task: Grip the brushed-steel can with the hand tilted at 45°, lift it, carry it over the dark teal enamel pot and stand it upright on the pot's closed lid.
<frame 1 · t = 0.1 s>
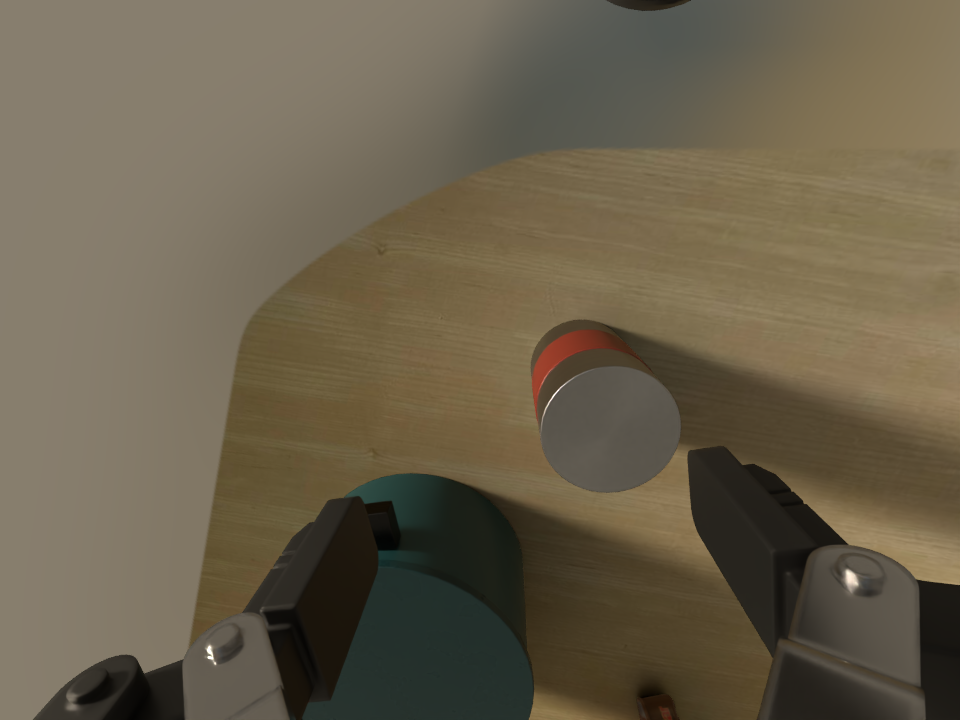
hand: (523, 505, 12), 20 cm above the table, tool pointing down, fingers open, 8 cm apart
can: (579, 366, 31), on the table
pot: (419, 564, 37), on the table
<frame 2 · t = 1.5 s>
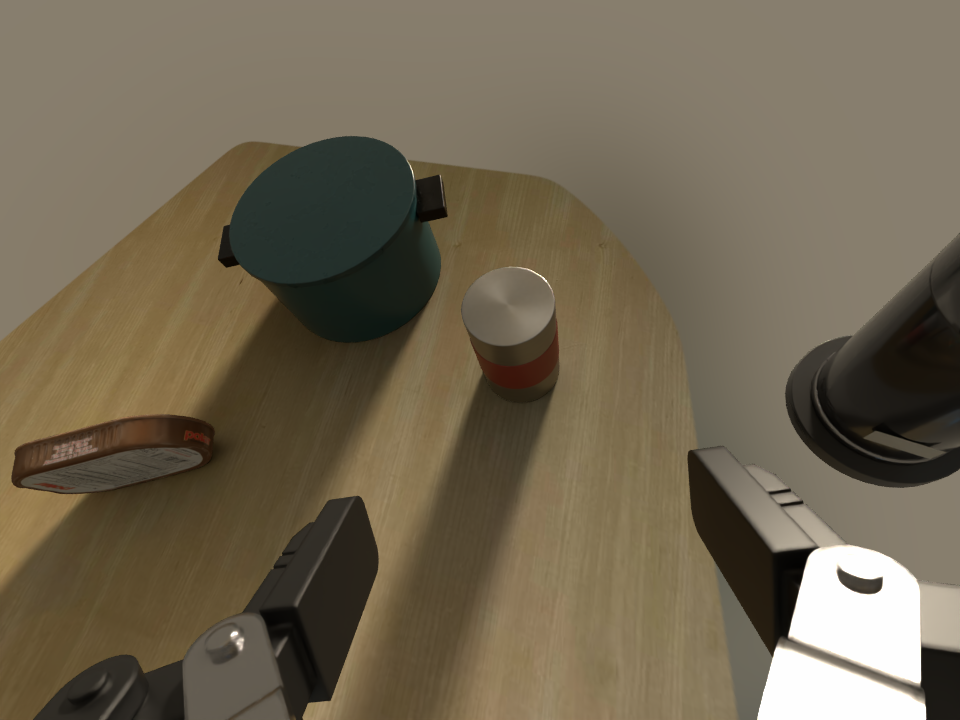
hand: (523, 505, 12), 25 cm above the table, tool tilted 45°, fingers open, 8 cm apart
can: (521, 368, 41), on the table
pot: (365, 274, 49), on the table
tin: (158, 469, 43), on the table
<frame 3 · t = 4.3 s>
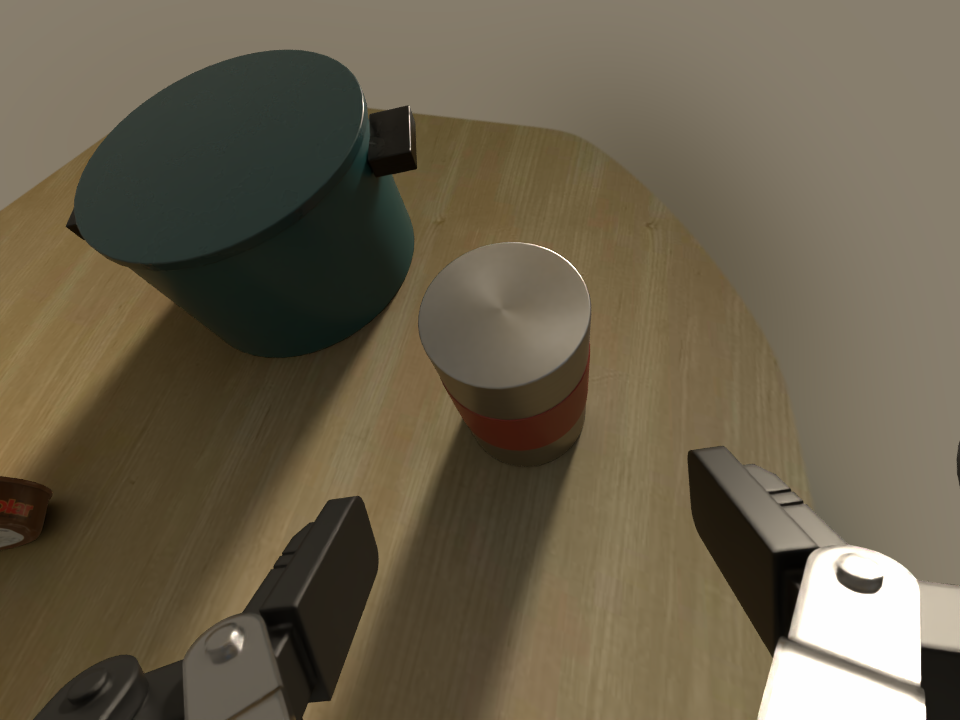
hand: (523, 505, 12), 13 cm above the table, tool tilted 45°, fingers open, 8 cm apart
can: (525, 409, 26), on the table
pot: (308, 260, 34), on the table
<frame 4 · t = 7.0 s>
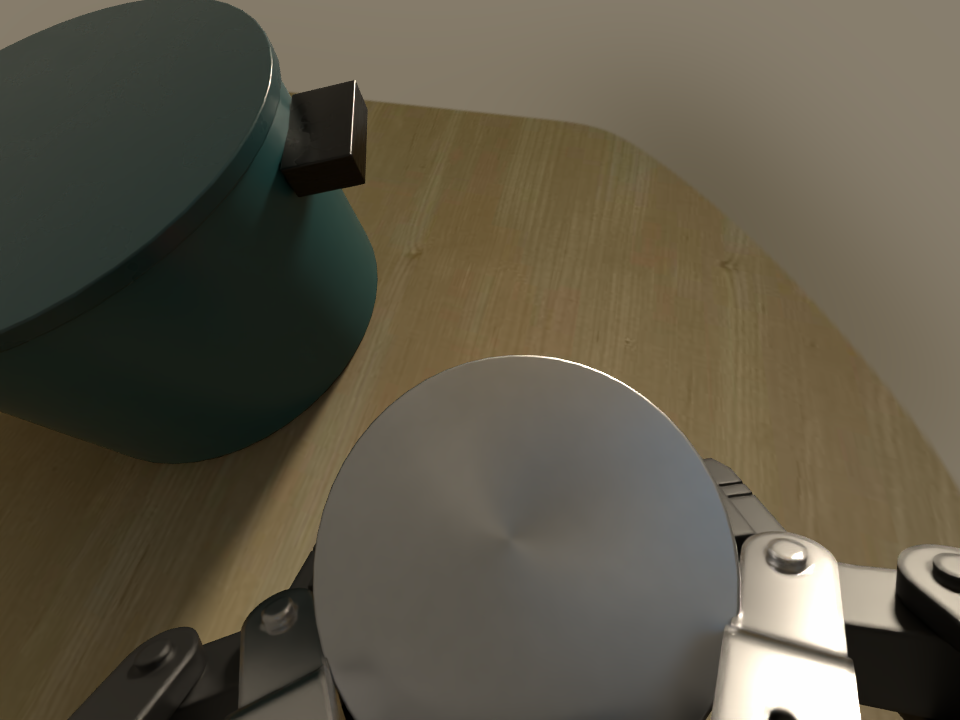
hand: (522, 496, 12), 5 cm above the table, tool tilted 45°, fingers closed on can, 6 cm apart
can: (544, 578, 16), on the table, touching gripper
pot: (227, 309, 24), on the table
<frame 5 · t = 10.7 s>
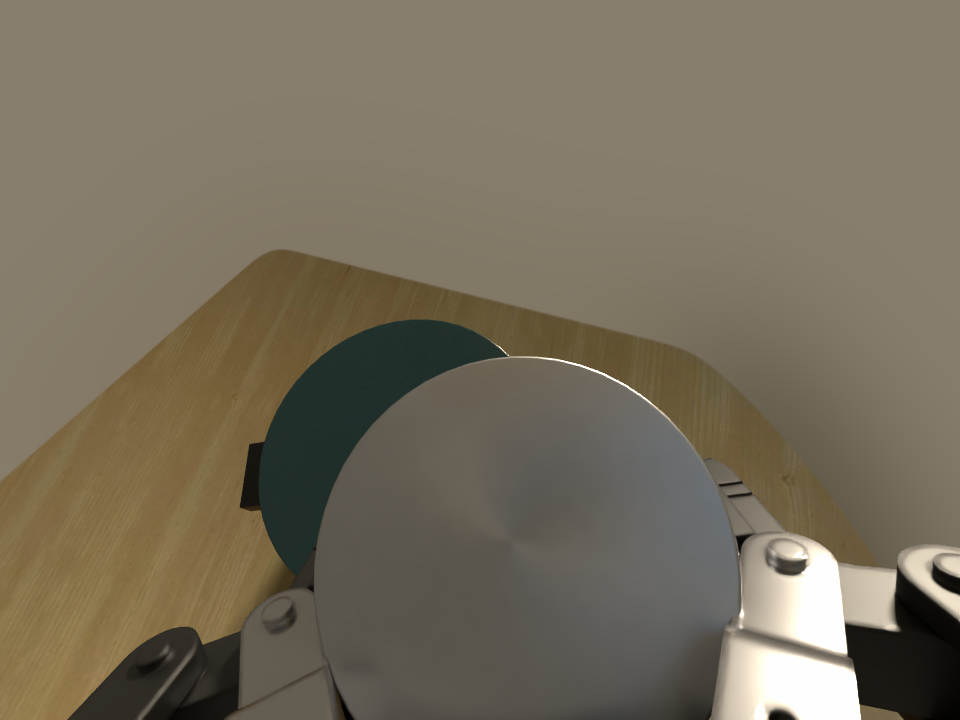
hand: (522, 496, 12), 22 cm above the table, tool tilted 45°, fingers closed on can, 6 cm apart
can: (545, 578, 16), point 17 cm above the table, touching gripper
pot: (439, 484, 35), on the table
when the fingers open (15 cm above the table, at t = 14.6 s): can stays where it is, resting on pot.
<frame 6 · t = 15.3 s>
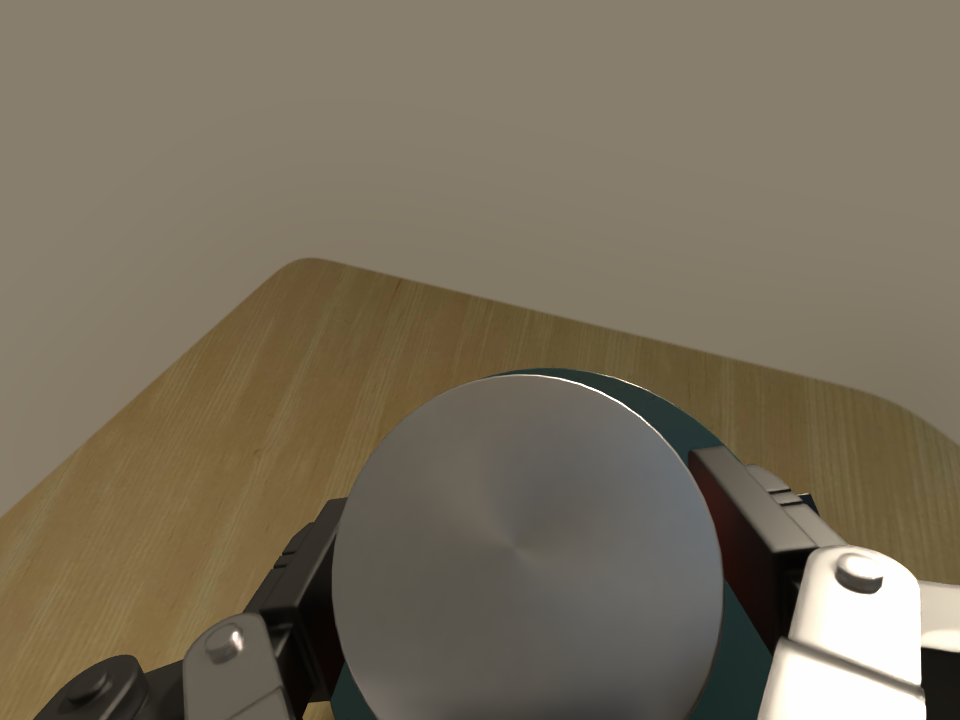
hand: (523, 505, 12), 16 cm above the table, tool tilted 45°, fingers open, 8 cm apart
can: (544, 580, 16), point 10 cm above the table, touching pot
pot: (553, 590, 25), on the table
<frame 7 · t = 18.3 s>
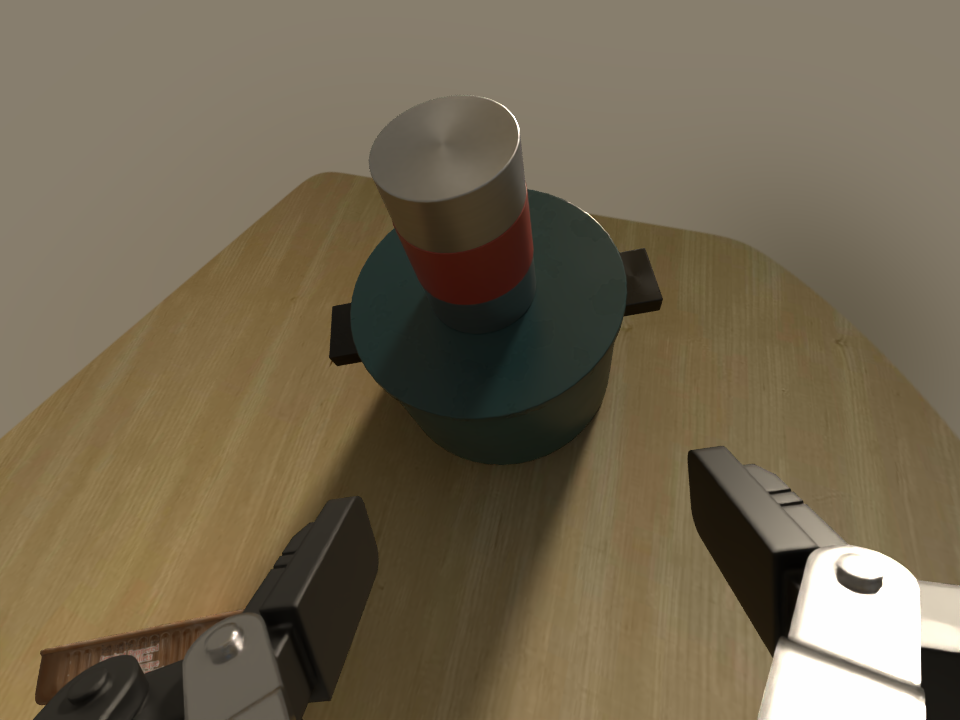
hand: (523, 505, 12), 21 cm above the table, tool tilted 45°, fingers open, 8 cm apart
can: (482, 288, 28), point 10 cm above the table, touching pot
pot: (503, 363, 37), on the table
tin: (234, 642, 31), on the table
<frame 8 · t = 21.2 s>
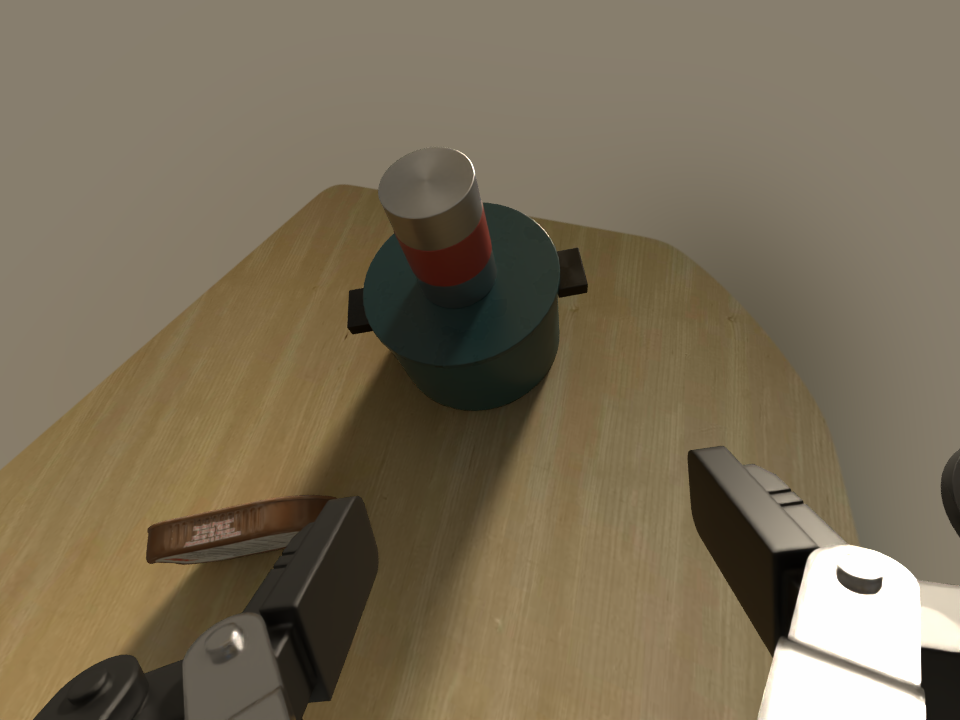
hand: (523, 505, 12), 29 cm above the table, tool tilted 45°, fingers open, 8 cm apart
can: (458, 276, 39), point 10 cm above the table, touching pot
pot: (479, 336, 48), on the table
tin: (276, 538, 42), on the table
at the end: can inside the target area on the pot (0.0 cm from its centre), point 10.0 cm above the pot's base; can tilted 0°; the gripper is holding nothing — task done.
